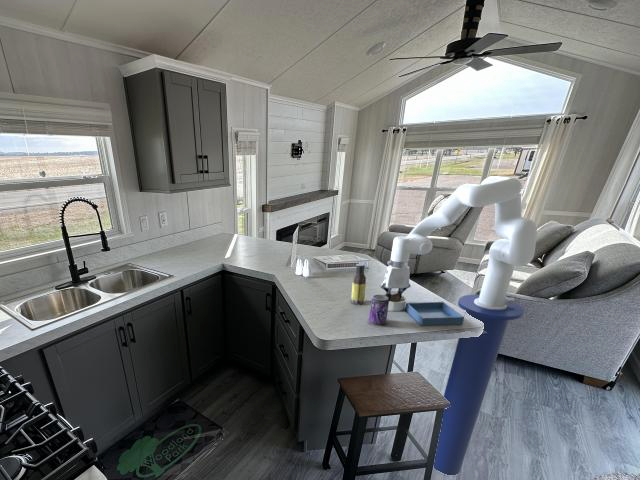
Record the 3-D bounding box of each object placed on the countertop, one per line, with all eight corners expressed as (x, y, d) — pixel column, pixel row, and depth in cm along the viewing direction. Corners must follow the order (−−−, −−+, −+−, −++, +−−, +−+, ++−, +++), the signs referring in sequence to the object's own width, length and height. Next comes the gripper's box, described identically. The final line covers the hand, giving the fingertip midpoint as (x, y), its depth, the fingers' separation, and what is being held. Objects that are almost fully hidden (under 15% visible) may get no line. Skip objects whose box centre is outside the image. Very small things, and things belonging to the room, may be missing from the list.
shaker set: (313, 277, 200) (314, 260, 196) (308, 279, 198) (308, 261, 194) (300, 272, 210) (300, 256, 205) (295, 274, 208) (295, 257, 203)
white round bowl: (398, 301, 164) (400, 293, 162) (408, 310, 153) (410, 302, 152) (376, 302, 164) (377, 293, 162) (385, 311, 154) (386, 302, 152)
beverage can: (370, 325, 142) (373, 300, 137) (367, 318, 148) (370, 294, 143) (387, 326, 141) (391, 300, 136) (383, 318, 147) (387, 294, 142)
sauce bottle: (363, 300, 167) (367, 262, 159) (364, 305, 161) (369, 266, 153) (350, 299, 168) (354, 262, 160) (350, 304, 163) (354, 266, 155)
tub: (441, 308, 154) (443, 301, 153) (462, 324, 140) (464, 317, 138) (404, 309, 155) (406, 302, 154) (421, 325, 140) (423, 318, 139)
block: (395, 298, 159) (396, 291, 158) (398, 301, 156) (400, 294, 154) (387, 298, 159) (388, 291, 158) (390, 302, 156) (391, 294, 154)
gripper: (383, 266, 147) (378, 303, 154) (421, 265, 146) (414, 302, 154) (377, 261, 154) (372, 297, 161) (413, 260, 153) (407, 296, 161)
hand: (393, 299), depth 157 cm, fingers closed on block, 4 cm apart
